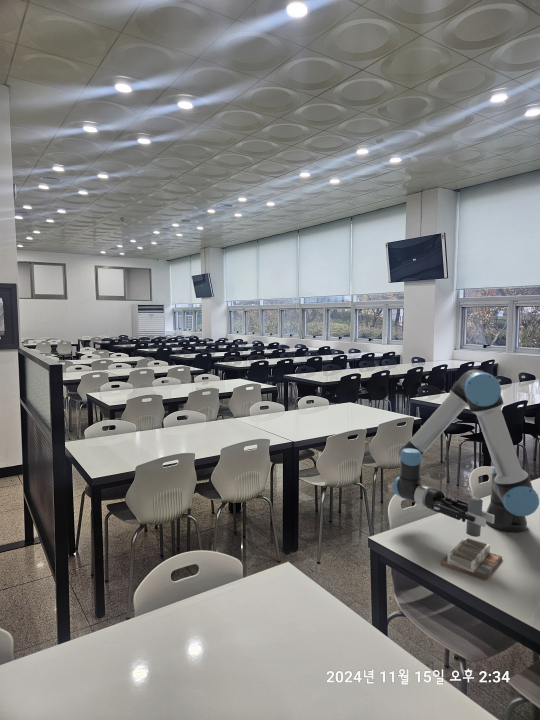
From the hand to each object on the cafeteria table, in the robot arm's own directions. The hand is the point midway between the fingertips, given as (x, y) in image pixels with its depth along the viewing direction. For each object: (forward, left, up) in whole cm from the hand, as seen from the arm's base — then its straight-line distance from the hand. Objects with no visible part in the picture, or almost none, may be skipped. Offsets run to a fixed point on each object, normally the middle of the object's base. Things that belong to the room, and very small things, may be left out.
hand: (489, 521), depth 155 cm
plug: (-1, -5, -6) cm, 8 cm away
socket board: (+3, -4, -14) cm, 15 cm away
